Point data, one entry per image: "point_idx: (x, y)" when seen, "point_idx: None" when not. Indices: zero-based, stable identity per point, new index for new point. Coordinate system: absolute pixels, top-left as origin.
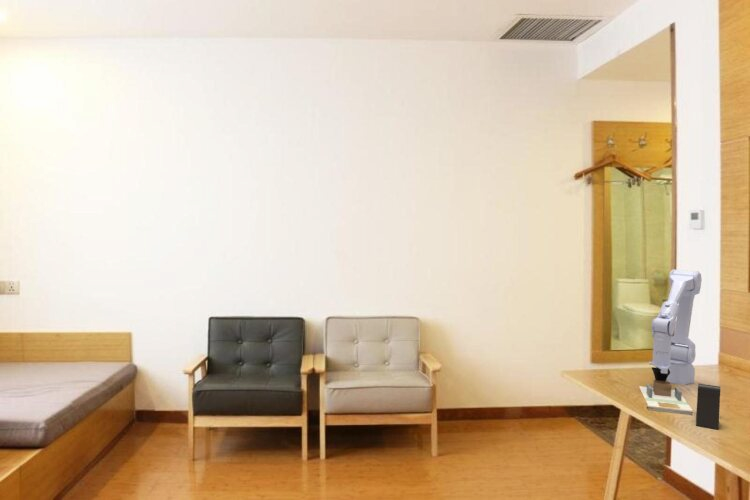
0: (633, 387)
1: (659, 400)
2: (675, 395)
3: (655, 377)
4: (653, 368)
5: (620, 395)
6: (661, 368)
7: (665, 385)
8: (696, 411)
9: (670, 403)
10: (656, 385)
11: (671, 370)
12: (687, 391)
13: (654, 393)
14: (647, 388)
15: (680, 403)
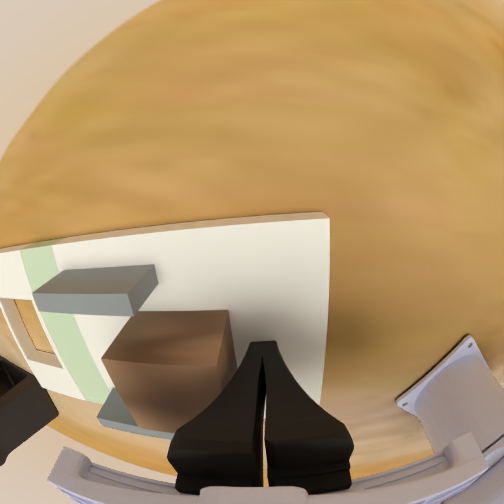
0: (381, 180)
1: (57, 314)
2: None
3: (223, 395)
4: (247, 459)
5: (116, 97)
6: (50, 476)
7: (127, 402)
8: (26, 389)
9: (53, 347)
10: (109, 354)
11: (470, 421)
12: (374, 417)
13: (158, 312)
14: (104, 283)
15: (84, 383)
